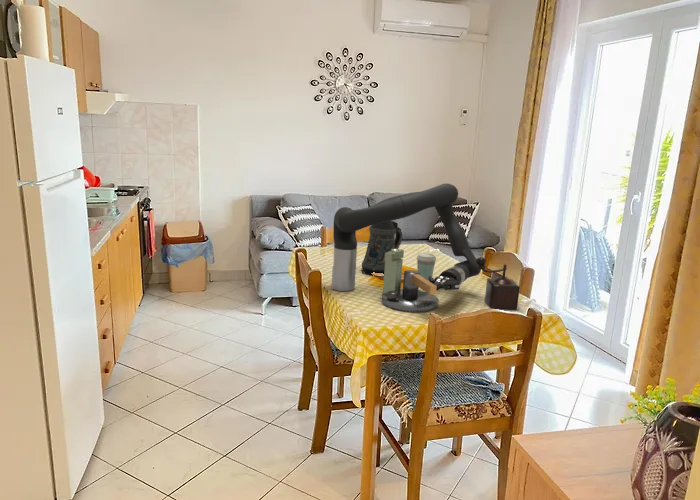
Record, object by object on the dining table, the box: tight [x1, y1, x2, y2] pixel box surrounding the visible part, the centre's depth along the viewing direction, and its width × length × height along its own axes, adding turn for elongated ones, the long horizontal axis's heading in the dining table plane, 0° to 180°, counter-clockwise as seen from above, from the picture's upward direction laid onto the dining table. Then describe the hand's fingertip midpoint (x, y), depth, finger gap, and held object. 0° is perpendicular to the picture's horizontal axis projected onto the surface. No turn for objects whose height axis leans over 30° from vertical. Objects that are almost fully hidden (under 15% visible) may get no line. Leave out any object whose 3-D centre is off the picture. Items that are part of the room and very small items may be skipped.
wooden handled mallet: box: [402, 269, 437, 300], centre depth 198 cm, size 21×6×10 cm, turn 18°
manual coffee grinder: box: [476, 256, 520, 311], centre depth 207 cm, size 16×11×18 cm
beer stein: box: [361, 220, 403, 277], centre depth 245 cm, size 16×19×25 cm
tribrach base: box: [380, 248, 440, 314], centre depth 204 cm, size 22×22×20 cm
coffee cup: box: [416, 252, 437, 280], centre depth 234 cm, size 9×8×12 cm
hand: (434, 288), depth 190 cm, fingers closed
